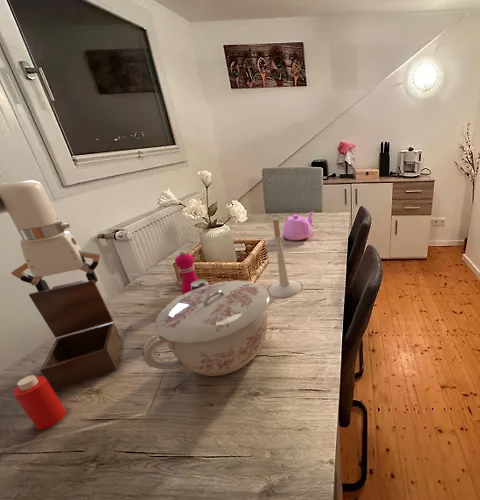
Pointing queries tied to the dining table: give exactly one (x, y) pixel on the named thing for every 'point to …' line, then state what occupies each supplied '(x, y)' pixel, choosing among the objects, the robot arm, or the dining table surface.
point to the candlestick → (282, 270)
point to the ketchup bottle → (39, 401)
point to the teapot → (298, 227)
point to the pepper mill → (186, 270)
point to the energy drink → (198, 284)
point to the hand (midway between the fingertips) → (71, 289)
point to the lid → (72, 307)
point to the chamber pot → (212, 328)
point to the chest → (82, 356)
